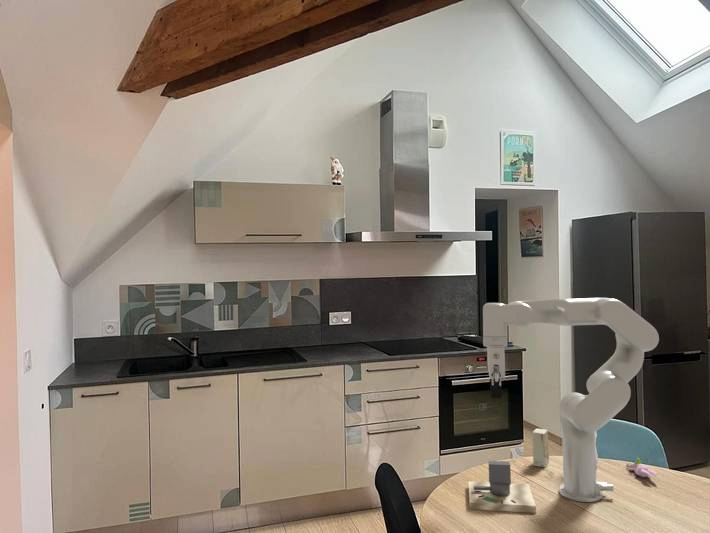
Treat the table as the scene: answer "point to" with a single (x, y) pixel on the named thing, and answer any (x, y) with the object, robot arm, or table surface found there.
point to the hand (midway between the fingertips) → (495, 394)
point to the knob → (498, 478)
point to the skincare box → (540, 447)
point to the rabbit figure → (641, 469)
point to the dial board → (502, 498)
